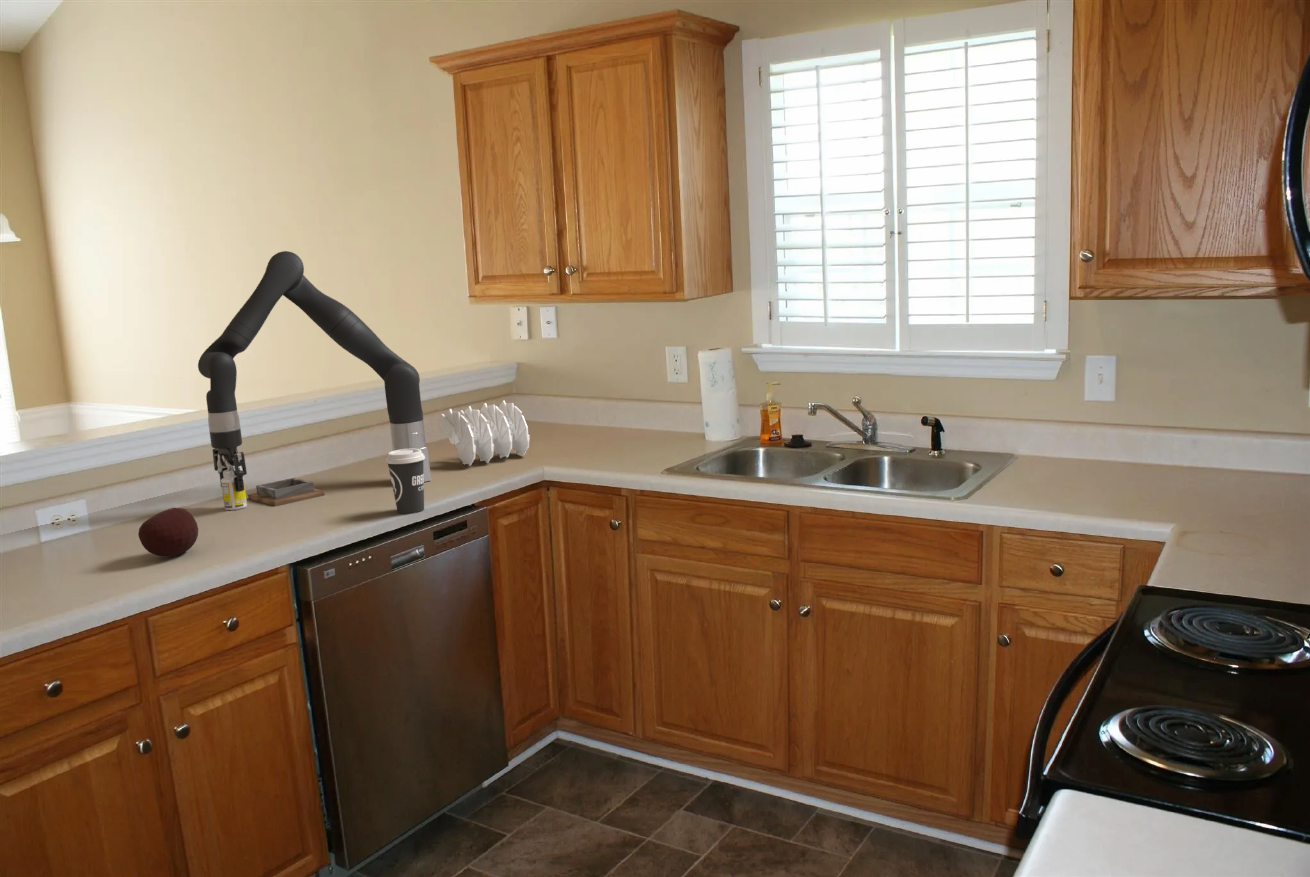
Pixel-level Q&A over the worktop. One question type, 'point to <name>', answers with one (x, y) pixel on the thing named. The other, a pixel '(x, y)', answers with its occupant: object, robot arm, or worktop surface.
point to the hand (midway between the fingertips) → (232, 489)
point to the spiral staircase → (486, 431)
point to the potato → (169, 532)
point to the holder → (285, 492)
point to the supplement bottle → (232, 493)
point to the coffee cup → (407, 479)
